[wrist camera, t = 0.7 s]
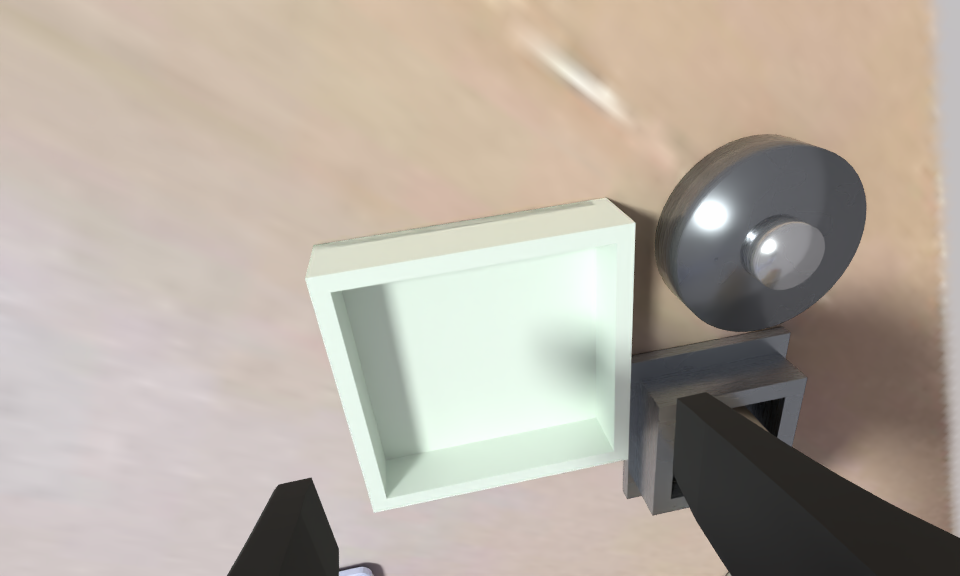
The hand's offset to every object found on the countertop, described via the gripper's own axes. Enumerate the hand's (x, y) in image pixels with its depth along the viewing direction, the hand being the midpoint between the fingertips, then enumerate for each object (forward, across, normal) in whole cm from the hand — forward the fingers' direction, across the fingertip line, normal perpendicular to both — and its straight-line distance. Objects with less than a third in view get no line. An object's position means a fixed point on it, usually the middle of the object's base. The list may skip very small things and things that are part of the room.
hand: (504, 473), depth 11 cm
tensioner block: (+10, -10, +10) cm, 17 cm away
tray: (+10, -1, +4) cm, 11 cm away
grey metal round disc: (+10, -11, +1) cm, 15 cm away
